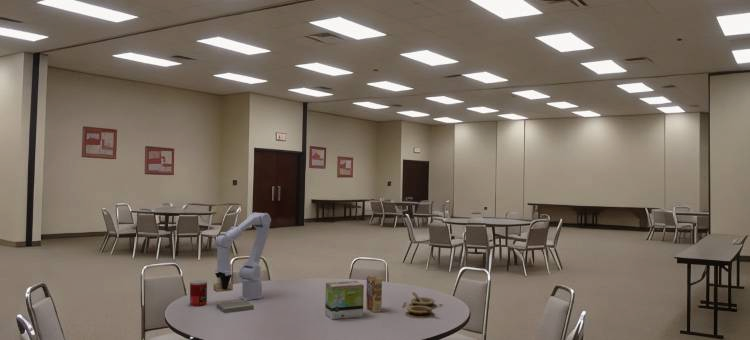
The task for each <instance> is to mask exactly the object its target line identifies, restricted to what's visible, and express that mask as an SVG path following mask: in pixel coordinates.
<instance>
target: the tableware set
mask: <svg viewBox="0 0 750 340" xmlns="http://www.w3.org/2000/svg"><path fill="white" fill-rule="evenodd" d="M411 294H412V295H413V296H414V297H415V298H414V297H413V298H412V299H411V300H410V303H409V305H407V303H408V302H406V301H404V302H403V304H402V307H401V308H402V309H405V308H406V307H407V308H406V310H407V311H406V312H405V313H404V314H405V316H406V317H408V318H411V319H412V318H413V319H428V318H433V317H434V316H435V313H434V312H433V310H435V309H436V308H437V307H438V306H439V307H438V308H442V307H443V304H442V303H439V305H438V304H436V303H435V299H433V298H431V297H420V296H419V295H418V294H417V293H416V292H414V291H413V292H411Z"/></svg>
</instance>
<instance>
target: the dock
mask: <svg viewBox="0 0 750 340" xmlns="http://www.w3.org/2000/svg"><path fill="white" fill-rule="evenodd" d="M254 308H255V306H254V304H253V303H251V302H249V300H243V299H241V300H233V301H225V302H216V309H217V310H219V311H220V312H222V313H223V312H224V314H227V313H228V314H229V313H235V312H236V311H237V312H241V311H242V312H243V311H250V310H251V311H252V310H254Z"/></svg>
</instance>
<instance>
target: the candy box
mask: <svg viewBox="0 0 750 340" xmlns="http://www.w3.org/2000/svg"><path fill="white" fill-rule="evenodd" d="M365 293H366V302H365V303H366V305H365V309H367V310H369V311H371V312H373V313H380V312H382V309H383V308H382V303H383V302H382V301H383V298H382V297H383V279H382V278H380V277H377V276H374V275H369V276H366V292H365Z"/></svg>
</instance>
